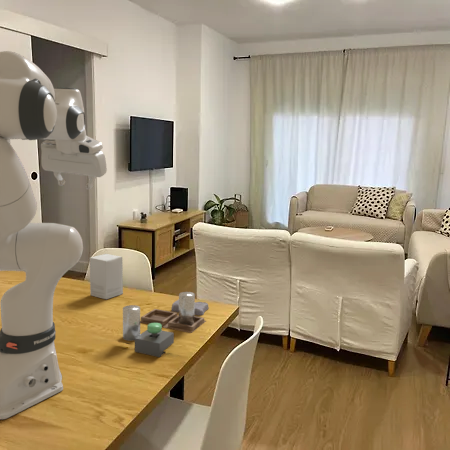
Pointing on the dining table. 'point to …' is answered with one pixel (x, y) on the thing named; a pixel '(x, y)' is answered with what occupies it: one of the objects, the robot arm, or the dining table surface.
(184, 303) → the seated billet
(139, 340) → the console
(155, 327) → the button
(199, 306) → the stone block
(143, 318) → the brown wooden tray
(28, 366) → the robot arm
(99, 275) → the supplement box
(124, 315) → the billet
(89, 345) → the dining table surface
